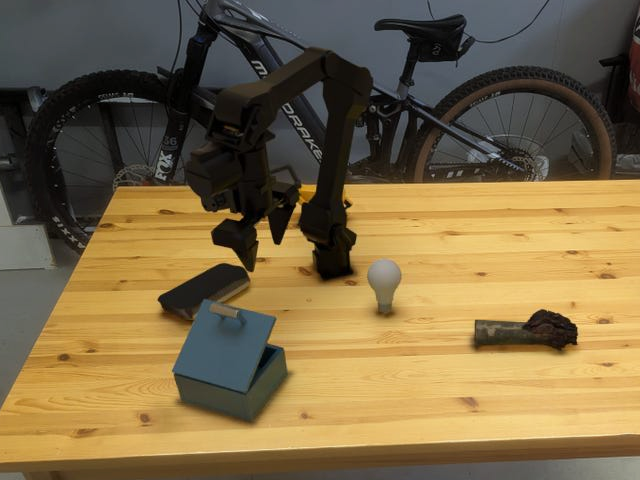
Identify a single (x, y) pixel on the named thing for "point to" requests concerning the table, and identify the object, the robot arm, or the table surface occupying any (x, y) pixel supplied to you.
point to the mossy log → (528, 331)
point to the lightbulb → (384, 282)
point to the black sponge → (205, 290)
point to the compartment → (237, 402)
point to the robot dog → (307, 188)
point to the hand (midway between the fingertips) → (264, 257)
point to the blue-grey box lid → (224, 345)
